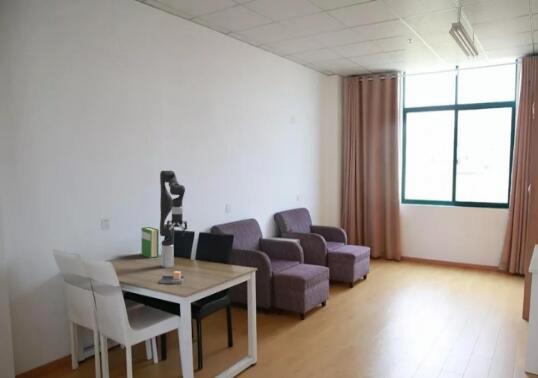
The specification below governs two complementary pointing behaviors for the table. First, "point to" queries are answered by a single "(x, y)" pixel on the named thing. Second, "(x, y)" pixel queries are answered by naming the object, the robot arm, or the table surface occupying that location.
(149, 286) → the table surface
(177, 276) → the salmon pink block
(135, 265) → the table surface
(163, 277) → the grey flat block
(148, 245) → the hardback book
